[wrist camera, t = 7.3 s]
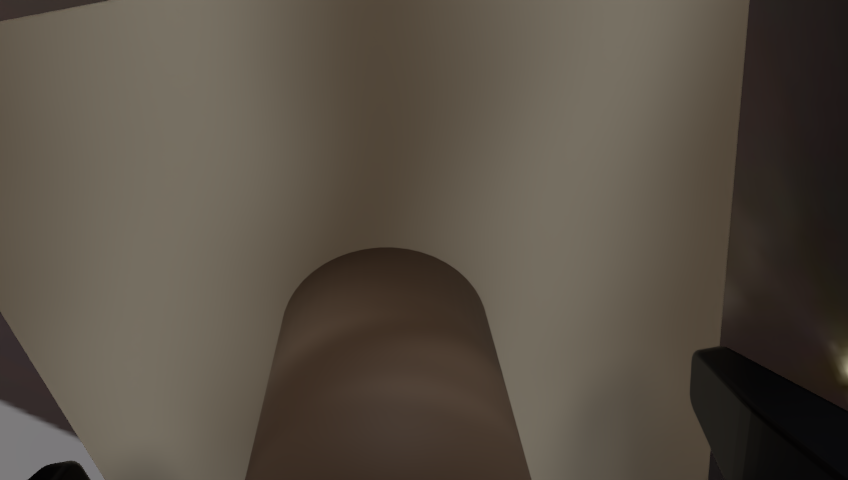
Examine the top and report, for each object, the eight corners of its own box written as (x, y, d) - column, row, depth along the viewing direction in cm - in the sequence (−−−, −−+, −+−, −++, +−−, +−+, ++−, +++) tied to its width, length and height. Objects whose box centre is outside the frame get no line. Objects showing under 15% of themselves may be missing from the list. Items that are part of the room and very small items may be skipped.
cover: (727, -119, 8) (1091, -156, 4) (689, 473, 14) (823, 713, 10) (-116, 43, 8) (-601, 168, 4) (186, 560, 14) (105, 832, 10)
